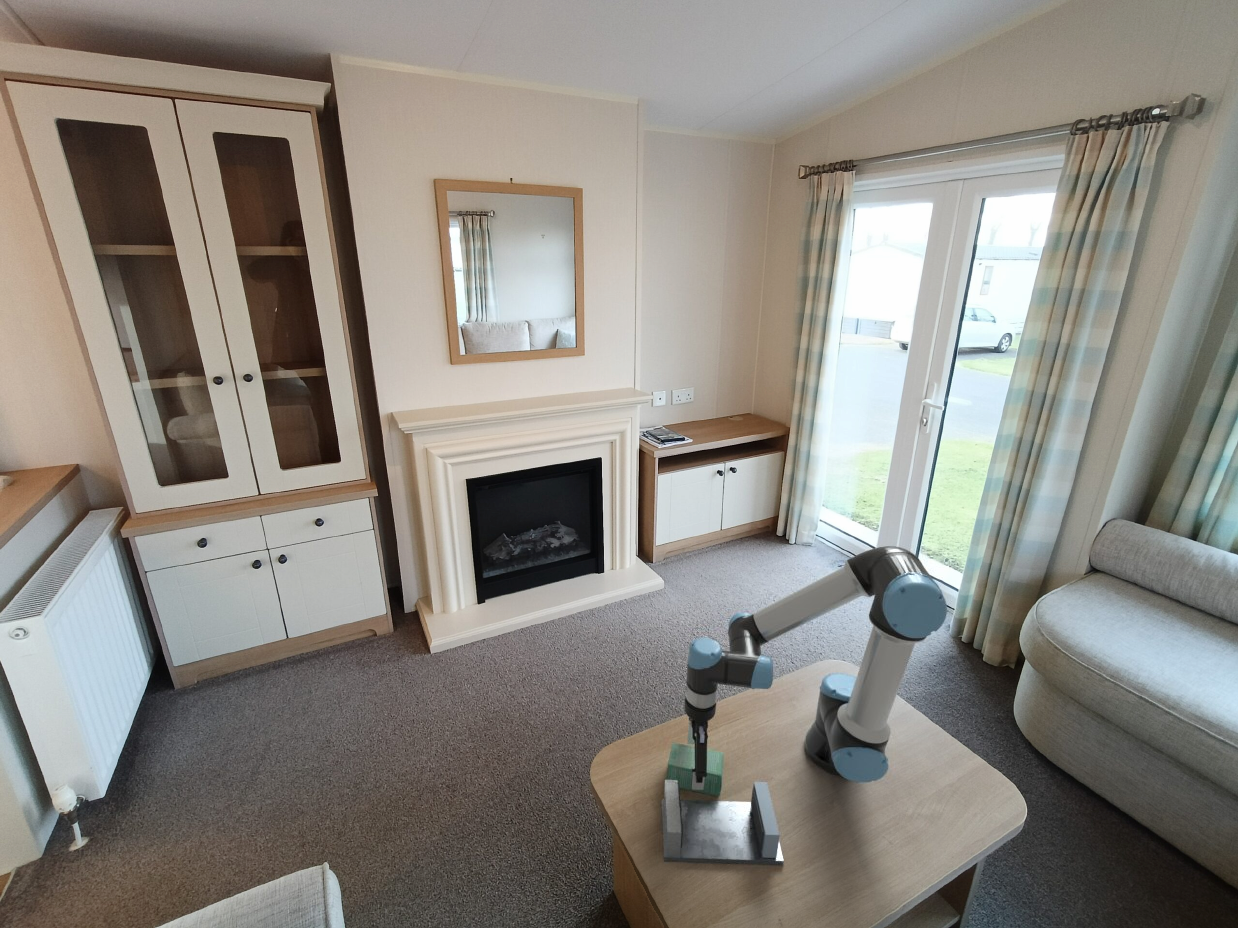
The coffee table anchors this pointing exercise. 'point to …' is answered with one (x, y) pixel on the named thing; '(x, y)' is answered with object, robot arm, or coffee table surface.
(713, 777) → the box
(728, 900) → the coffee table surface
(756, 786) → the block
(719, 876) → the coffee table surface
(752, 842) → the vise
